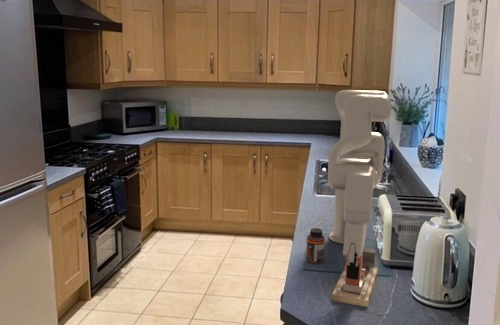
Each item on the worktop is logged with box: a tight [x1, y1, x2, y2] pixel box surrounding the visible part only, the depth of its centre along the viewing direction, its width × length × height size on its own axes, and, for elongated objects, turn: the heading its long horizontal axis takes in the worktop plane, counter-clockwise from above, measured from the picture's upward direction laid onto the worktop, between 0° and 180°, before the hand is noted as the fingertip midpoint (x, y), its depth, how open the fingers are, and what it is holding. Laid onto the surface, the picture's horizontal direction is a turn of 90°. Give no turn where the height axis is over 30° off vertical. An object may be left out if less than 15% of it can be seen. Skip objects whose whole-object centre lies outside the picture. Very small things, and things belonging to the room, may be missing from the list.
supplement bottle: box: [305, 227, 326, 265], centre depth 166 cm, size 6×6×11 cm
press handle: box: [343, 252, 365, 293], centre depth 143 cm, size 8×5×12 cm, turn 160°
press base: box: [331, 247, 378, 308], centre depth 148 cm, size 24×10×8 cm, turn 160°
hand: (353, 275), depth 141 cm, fingers closed on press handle, 3 cm apart
